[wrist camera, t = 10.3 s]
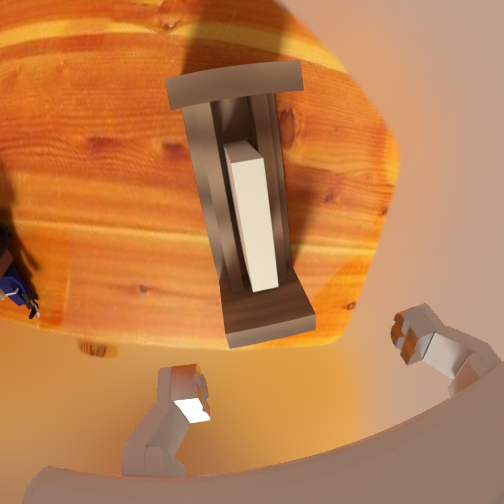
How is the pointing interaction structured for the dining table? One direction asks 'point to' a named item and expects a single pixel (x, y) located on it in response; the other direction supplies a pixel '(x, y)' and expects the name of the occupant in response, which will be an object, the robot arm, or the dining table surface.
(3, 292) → the toy
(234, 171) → the door panel
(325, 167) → the dining table surface
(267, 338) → the wooden rack
